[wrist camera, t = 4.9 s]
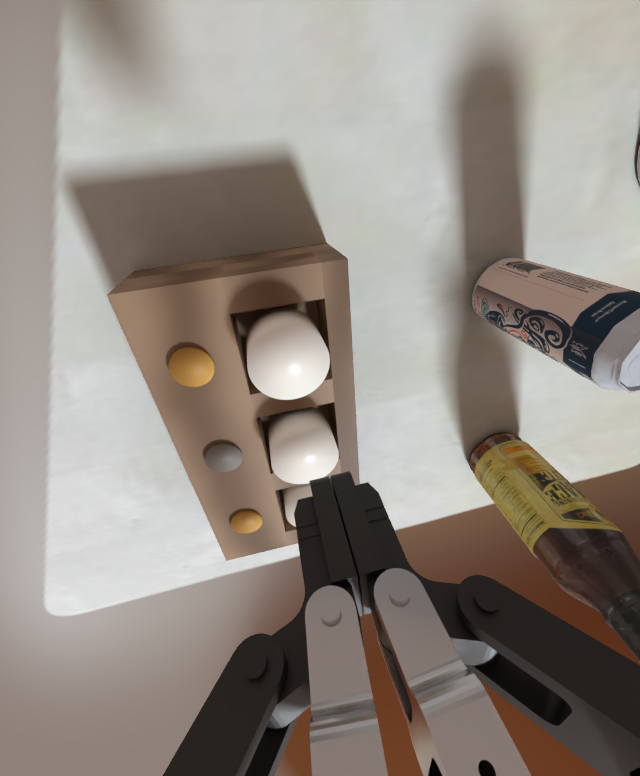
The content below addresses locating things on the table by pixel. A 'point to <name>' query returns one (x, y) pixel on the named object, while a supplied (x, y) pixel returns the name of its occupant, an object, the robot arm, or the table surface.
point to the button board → (238, 376)
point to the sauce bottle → (563, 531)
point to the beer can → (566, 319)
